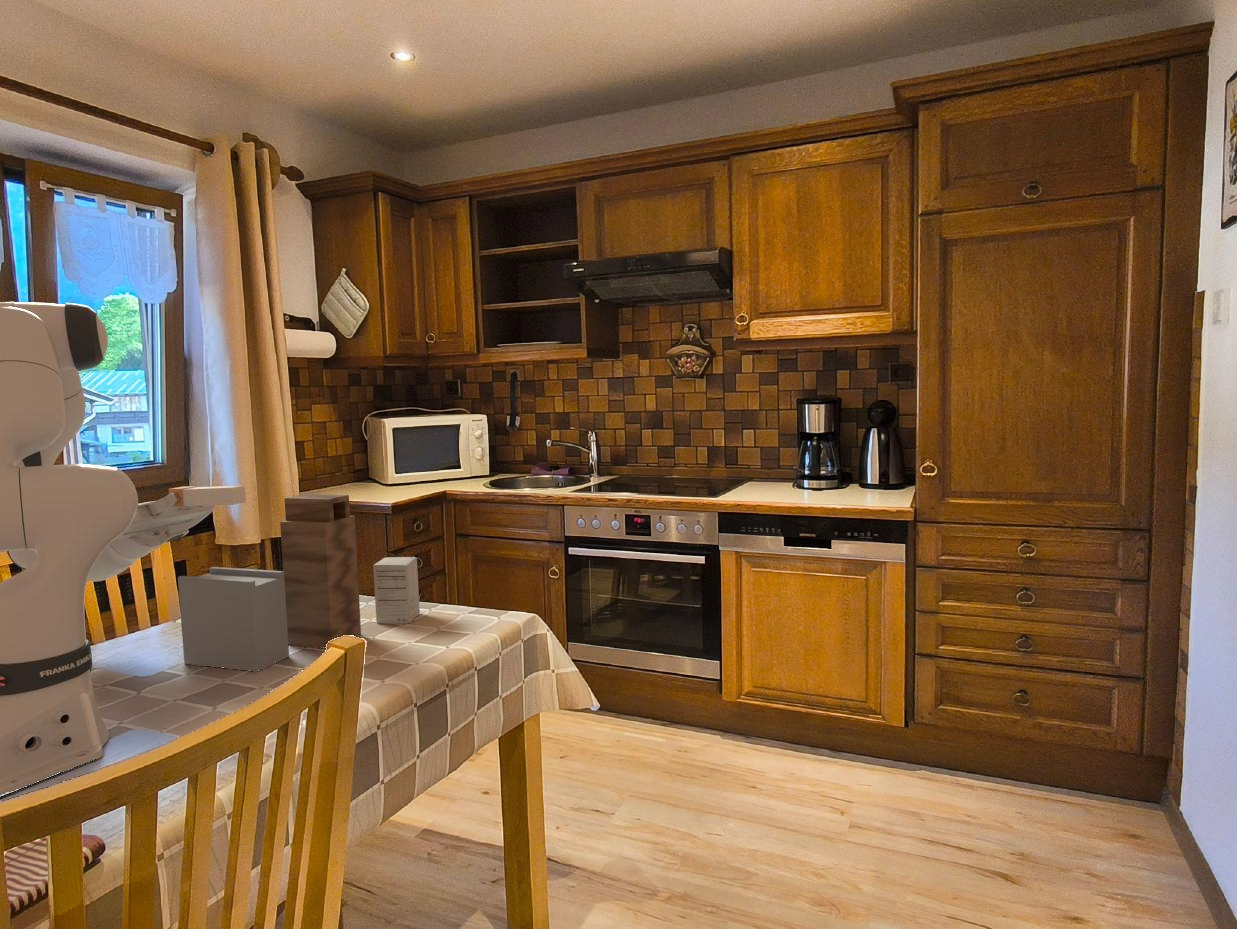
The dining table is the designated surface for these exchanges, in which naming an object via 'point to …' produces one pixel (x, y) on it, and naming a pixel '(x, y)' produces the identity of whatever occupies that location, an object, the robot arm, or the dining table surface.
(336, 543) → the holster tower
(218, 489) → the beige rectangular bar
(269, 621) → the block
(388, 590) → the supplement box
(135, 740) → the dining table surface
